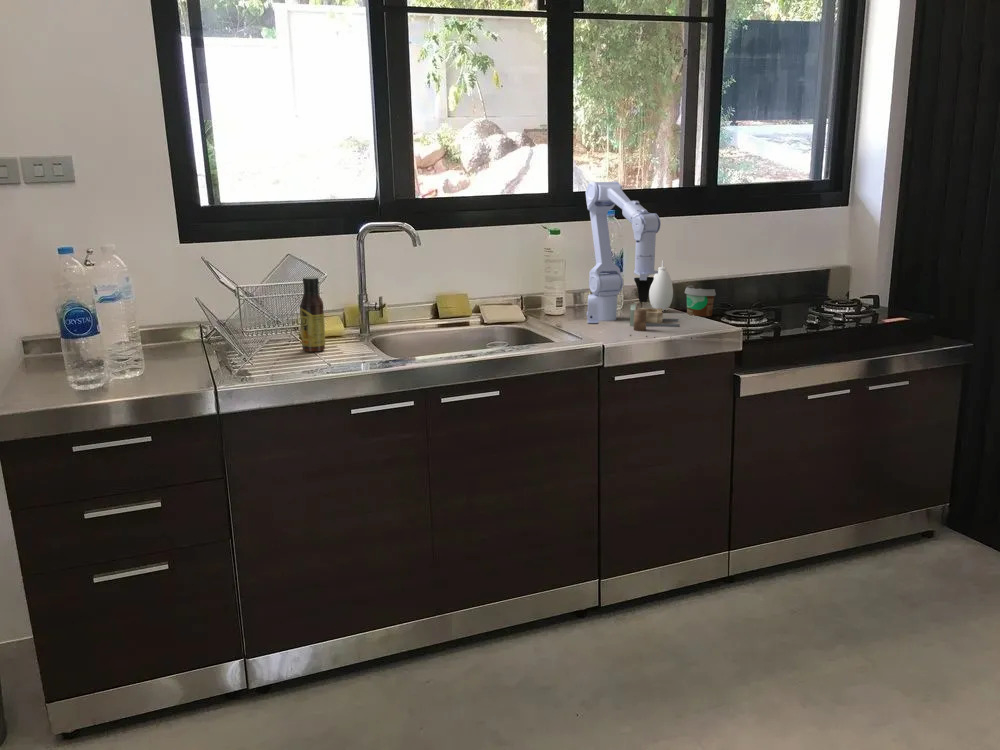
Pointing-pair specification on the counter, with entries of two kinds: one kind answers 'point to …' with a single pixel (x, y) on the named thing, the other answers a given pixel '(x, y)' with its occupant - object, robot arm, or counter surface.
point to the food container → (699, 301)
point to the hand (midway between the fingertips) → (643, 301)
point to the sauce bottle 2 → (661, 290)
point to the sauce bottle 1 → (312, 317)
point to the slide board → (652, 323)
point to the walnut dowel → (640, 320)
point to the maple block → (653, 315)
